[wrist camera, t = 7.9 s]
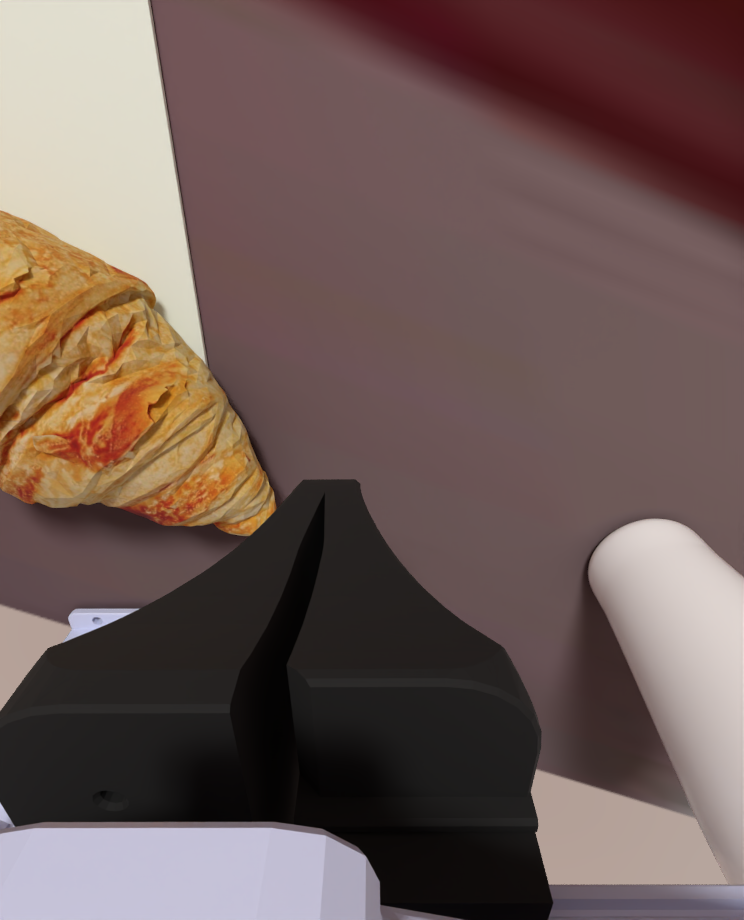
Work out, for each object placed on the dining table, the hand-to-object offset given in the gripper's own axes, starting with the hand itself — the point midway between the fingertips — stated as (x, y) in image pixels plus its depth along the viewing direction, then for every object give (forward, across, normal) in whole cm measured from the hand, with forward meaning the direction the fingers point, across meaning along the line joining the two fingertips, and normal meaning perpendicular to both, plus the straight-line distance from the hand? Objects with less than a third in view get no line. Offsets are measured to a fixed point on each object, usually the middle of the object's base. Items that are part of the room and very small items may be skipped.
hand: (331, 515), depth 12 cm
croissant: (+9, +11, -1) cm, 15 cm away
